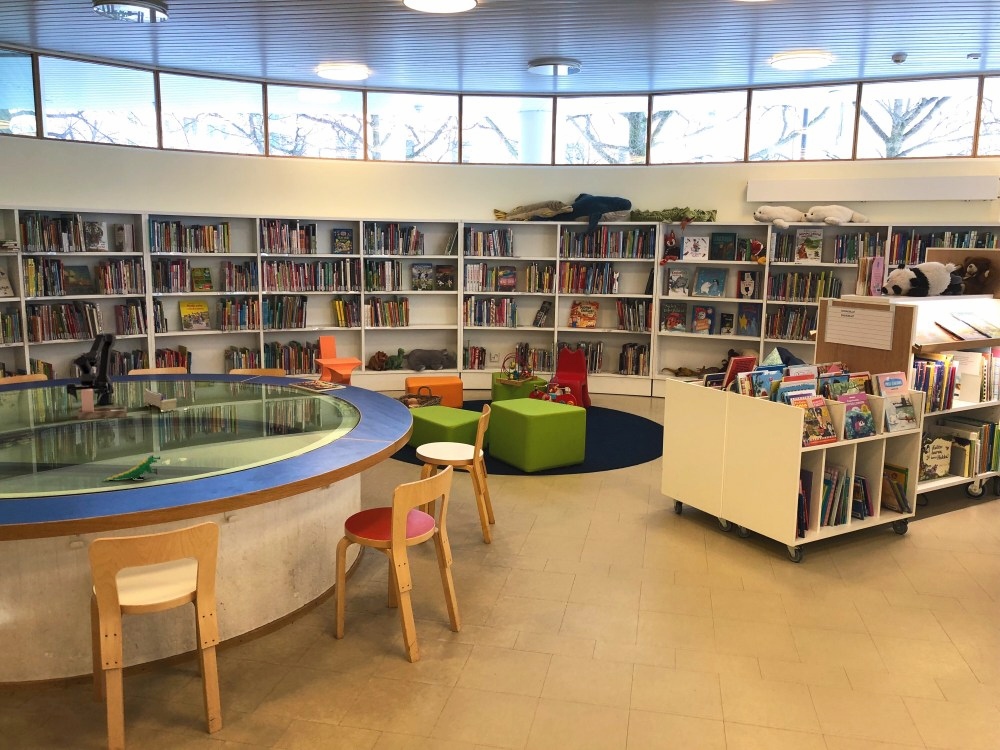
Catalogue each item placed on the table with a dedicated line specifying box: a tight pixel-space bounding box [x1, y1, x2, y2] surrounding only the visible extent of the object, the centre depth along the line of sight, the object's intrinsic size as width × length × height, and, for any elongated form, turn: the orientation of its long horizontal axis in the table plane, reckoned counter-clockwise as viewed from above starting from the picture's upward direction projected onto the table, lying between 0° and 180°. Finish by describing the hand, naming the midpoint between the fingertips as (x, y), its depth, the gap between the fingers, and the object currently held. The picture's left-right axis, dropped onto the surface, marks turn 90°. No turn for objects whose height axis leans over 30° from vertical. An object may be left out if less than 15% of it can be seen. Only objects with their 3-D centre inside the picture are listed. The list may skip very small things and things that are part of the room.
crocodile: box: [103, 454, 161, 481], centre depth 304 cm, size 20×6×9 cm, turn 114°
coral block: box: [80, 389, 95, 412], centre depth 403 cm, size 5×5×12 cm
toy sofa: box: [143, 388, 178, 411], centre depth 430 cm, size 21×9×10 cm, turn 48°
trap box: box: [77, 406, 128, 420], centre depth 407 cm, size 22×10×4 cm, turn 115°
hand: (87, 401), depth 402 cm, fingers open, 9 cm apart
